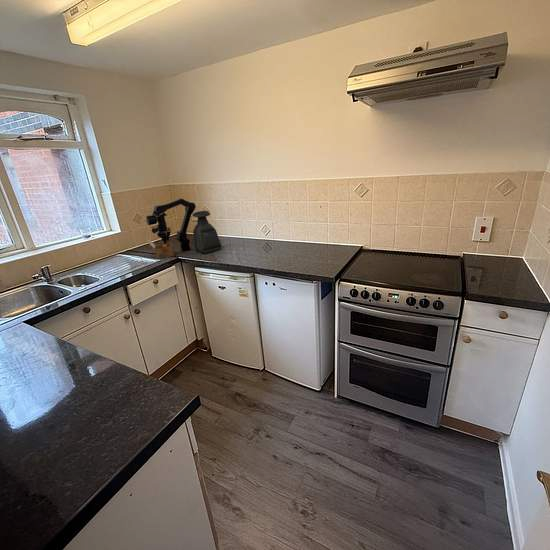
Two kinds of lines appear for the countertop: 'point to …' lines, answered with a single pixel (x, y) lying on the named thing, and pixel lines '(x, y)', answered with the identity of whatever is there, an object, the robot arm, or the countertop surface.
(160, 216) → the robot arm
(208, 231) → the bottle
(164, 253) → the carton
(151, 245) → the flap
